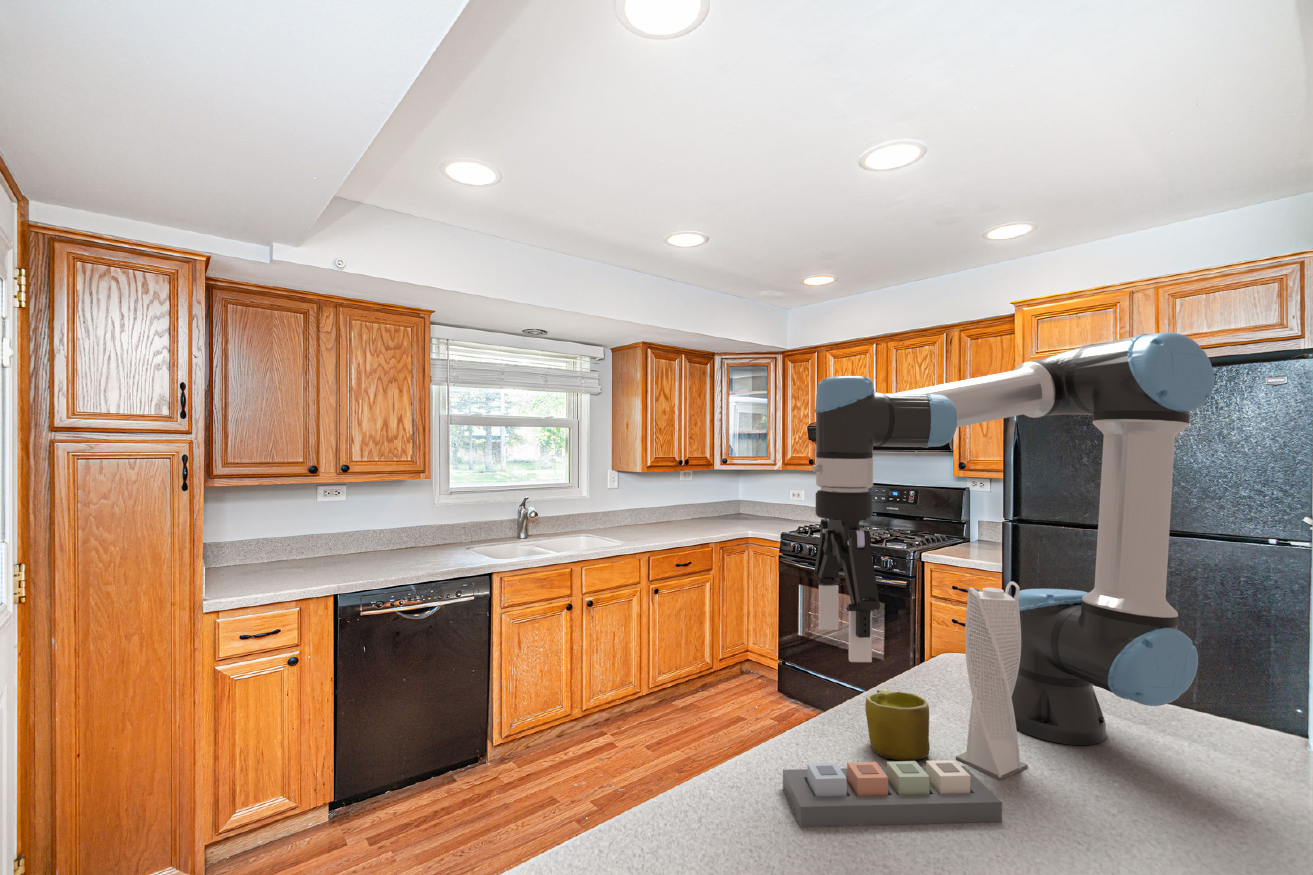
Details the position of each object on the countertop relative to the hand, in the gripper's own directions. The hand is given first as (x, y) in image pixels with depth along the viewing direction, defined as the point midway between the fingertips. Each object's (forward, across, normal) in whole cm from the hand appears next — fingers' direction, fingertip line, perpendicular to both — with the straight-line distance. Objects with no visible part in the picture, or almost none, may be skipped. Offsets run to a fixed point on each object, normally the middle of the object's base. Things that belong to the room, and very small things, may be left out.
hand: (843, 644), depth 87 cm
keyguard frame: (+20, +2, +5) cm, 21 cm away
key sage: (+19, +2, +8) cm, 21 cm away
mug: (+21, -14, +13) cm, 28 cm away
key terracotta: (+19, +2, +3) cm, 19 cm away
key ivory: (+19, +2, +14) cm, 23 cm away
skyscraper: (+21, -7, +25) cm, 33 cm away
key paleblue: (+19, +2, -3) cm, 19 cm away
